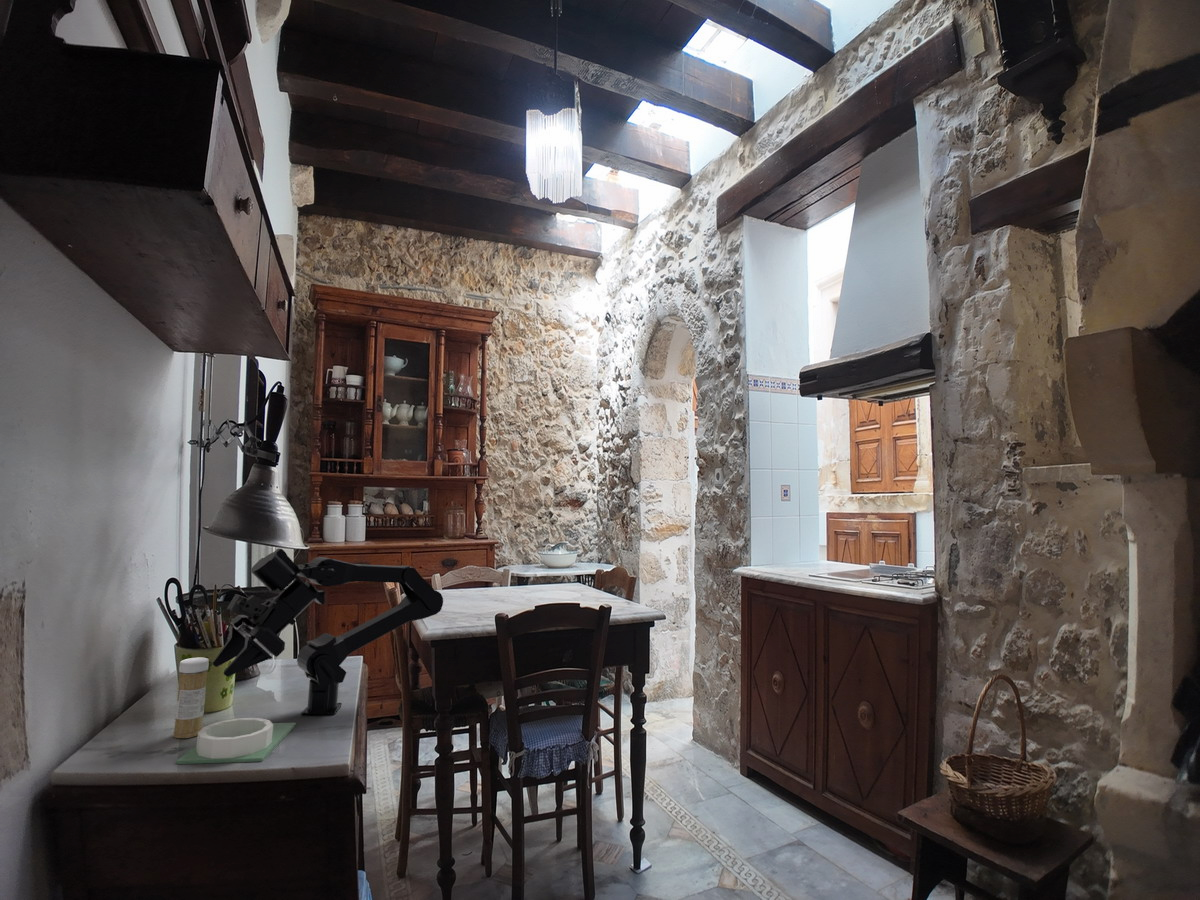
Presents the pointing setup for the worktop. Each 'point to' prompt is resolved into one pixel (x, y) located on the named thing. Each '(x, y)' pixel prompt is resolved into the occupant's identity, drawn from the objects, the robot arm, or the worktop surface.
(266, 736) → the practice green
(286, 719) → the worktop surface
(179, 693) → the sprinkles bottle
